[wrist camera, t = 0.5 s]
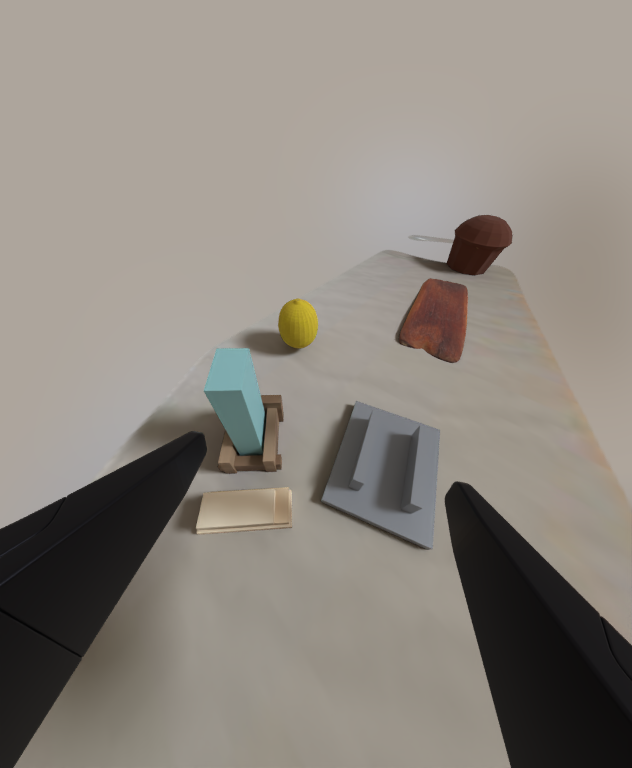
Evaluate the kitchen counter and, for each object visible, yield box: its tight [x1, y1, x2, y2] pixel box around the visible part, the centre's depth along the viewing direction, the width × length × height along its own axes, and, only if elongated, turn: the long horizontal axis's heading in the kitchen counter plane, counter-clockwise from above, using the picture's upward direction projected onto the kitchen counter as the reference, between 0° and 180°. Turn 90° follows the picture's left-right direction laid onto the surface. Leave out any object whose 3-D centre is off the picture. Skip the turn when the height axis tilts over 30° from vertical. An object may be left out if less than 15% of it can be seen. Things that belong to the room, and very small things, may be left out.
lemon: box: [278, 299, 318, 348], centre depth 32 cm, size 6×6×8 cm
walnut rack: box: [218, 395, 283, 474], centre depth 24 cm, size 7×6×4 cm
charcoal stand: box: [321, 401, 440, 550], centre depth 23 cm, size 12×10×4 cm
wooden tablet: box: [399, 279, 468, 363], centre depth 43 cm, size 27×10×2 cm, turn 152°
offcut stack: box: [196, 487, 292, 535], centre depth 20 cm, size 3×8×3 cm, turn 94°
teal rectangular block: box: [204, 348, 266, 456], centre depth 21 cm, size 4×2×12 cm, turn 3°
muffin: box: [447, 215, 512, 275], centre depth 52 cm, size 12×11×10 cm
